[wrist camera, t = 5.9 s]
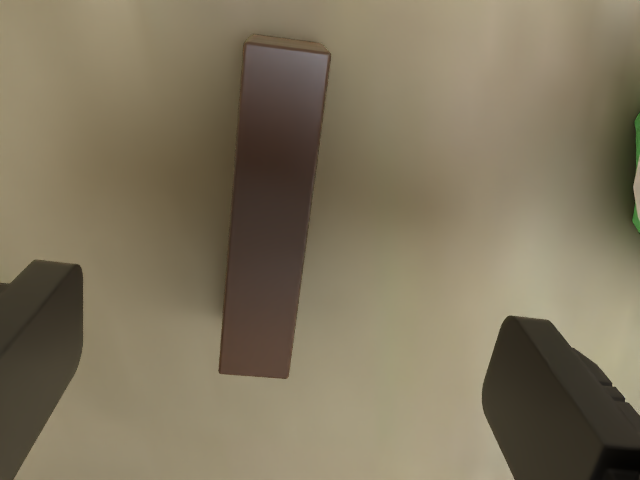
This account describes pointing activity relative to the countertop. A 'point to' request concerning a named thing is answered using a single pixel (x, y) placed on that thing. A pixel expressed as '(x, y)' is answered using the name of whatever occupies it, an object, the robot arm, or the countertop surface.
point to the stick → (271, 201)
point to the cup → (637, 177)
